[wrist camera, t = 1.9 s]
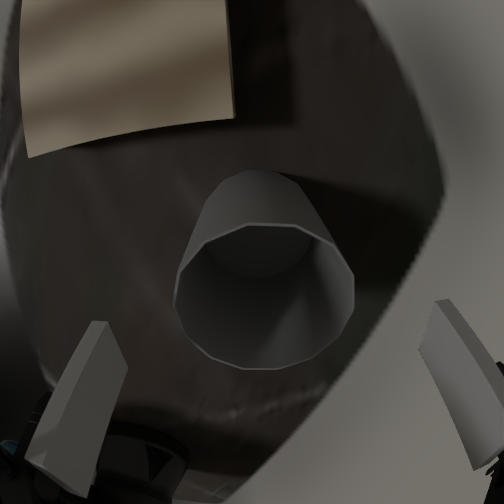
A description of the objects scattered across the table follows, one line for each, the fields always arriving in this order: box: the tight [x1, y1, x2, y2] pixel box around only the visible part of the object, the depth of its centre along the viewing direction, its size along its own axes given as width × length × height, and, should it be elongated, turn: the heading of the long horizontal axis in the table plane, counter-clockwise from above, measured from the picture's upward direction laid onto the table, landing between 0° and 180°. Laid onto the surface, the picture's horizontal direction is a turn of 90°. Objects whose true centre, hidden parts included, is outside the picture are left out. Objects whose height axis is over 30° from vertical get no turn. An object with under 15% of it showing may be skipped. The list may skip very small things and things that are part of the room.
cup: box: [172, 170, 354, 370], centre depth 18 cm, size 8×8×10 cm
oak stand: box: [19, 0, 236, 158], centre depth 13 cm, size 18×14×4 cm
